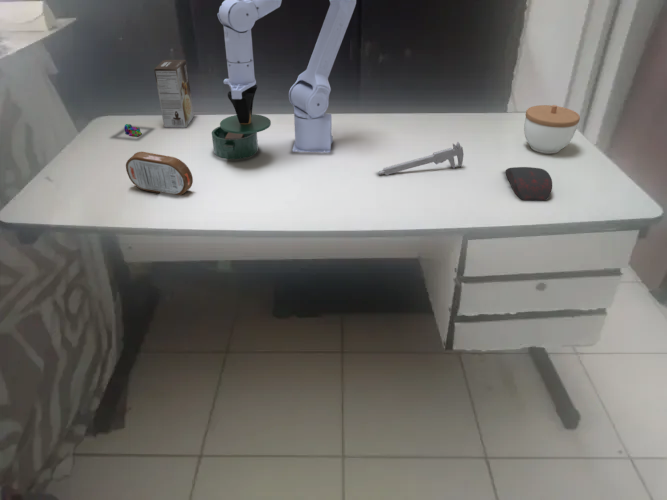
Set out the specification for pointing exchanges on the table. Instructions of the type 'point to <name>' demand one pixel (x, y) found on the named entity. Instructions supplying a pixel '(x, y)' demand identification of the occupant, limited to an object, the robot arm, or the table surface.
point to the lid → (245, 124)
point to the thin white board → (132, 130)
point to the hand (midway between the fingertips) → (245, 120)
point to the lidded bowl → (550, 127)
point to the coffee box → (174, 93)
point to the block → (234, 136)
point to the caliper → (429, 160)
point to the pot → (234, 145)
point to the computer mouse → (530, 182)
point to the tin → (159, 173)
